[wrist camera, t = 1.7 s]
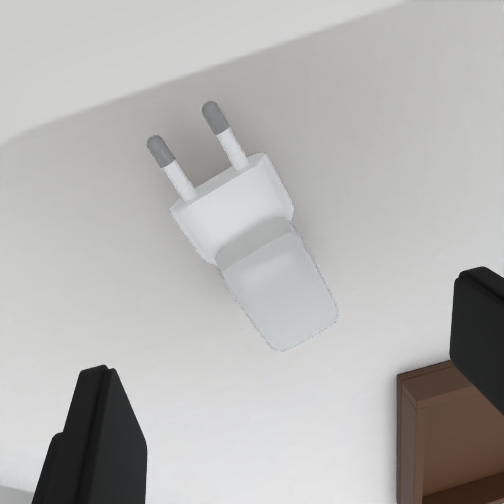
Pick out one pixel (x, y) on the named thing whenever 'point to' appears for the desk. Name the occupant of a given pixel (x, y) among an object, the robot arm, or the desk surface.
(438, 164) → the desk surface
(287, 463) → the desk surface
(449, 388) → the tray
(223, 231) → the power adapter
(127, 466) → the robot arm
